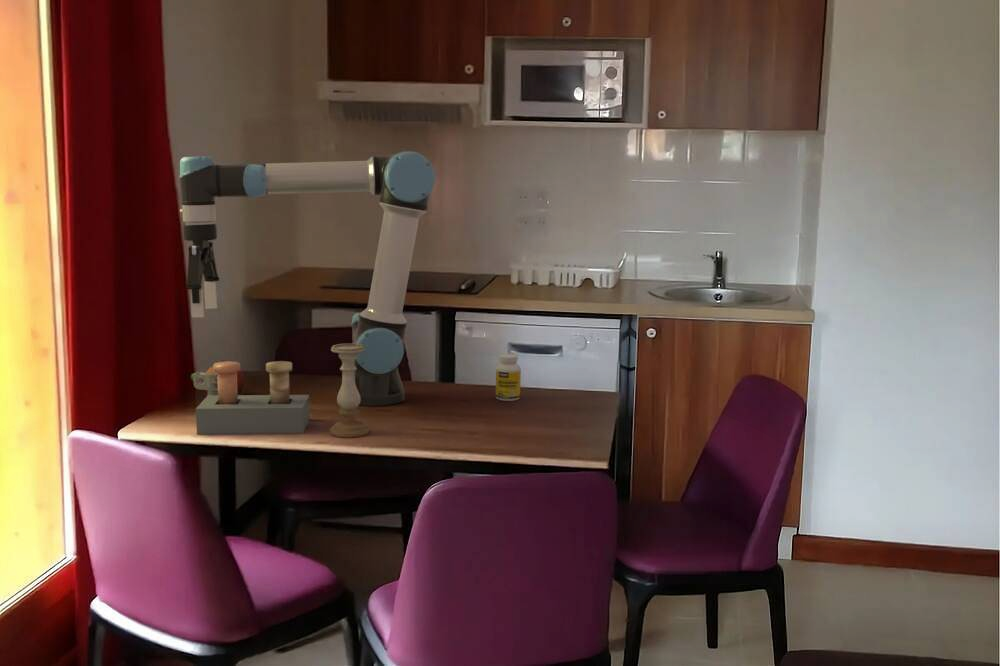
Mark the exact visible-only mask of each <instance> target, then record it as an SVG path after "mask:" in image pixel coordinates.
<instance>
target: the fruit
mask: <svg viewBox="0 0 1000 666" xmlns="http://www.w3.org/2000/svg"><path fill="white" fill-rule="evenodd" d="M227 361H228V360H226V359H224V360H221V361H220V362H227ZM206 372H209V373H217V372H214V369H213V366H211V367H209V368H208V369H207V370H206ZM245 379H246V378H245V376H244V373H243V371H242V370H241V369H240V371H237V393H238V395H240V393H241V392H242V391H243V389H244V387H245V381H246V380H245ZM206 392H207V393H208V391H207V390H206ZM217 394H218V390H217Z"/></svg>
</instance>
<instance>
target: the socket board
mask: <svg viewBox="0 0 1000 666" xmlns="http://www.w3.org/2000/svg"><path fill="white" fill-rule="evenodd" d="M310 415H311V414H310V394H290V404H271V402H270V394H254V395H253V394H252V395H251V394H250V395H249V394H246V395H245V394H238V404H218V395H208V396H207V395H206V397H205V398H203V400H202V401H201V402H200V404H199V405H198V406H197V407H196V408H195V421H196V425H195V426H196V435H255V434H258V435H260V434H261V435H262V434H267V435H268V434H269V435H270V434H271V435H273V434H277V435H278V434H282V435H283V434H304V433H305V430H306V428H307V427H308V424H309V421H310V418H311V417H310Z"/></svg>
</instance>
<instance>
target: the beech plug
mask: <svg viewBox="0 0 1000 666" xmlns="http://www.w3.org/2000/svg"><path fill="white" fill-rule="evenodd" d="M265 371H266V372H267V373H269V392H270V393H269V395H270V402H271V404H290V395H291V393H290V372H291V371H293V362H291V361H285V360H278V361H269V362H267V363H265Z"/></svg>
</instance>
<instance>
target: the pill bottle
mask: <svg viewBox="0 0 1000 666" xmlns="http://www.w3.org/2000/svg"><path fill="white" fill-rule="evenodd" d="M499 361H500V363H499V364H498V365H496V367H495V368H496V369H495V398H496V400H499V401H504V402H513V401H514V402H515V401H518V400H519V399H520V398H521V373H522V372H521V367H520V365H519V364H518V363H517V362H518V354H517V355H516V354H511V353H504V354H500V355H499Z"/></svg>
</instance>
